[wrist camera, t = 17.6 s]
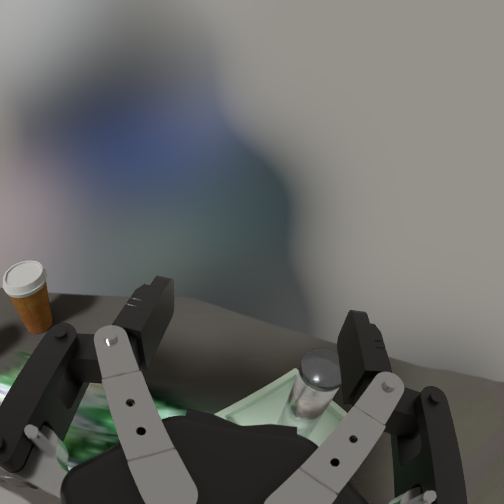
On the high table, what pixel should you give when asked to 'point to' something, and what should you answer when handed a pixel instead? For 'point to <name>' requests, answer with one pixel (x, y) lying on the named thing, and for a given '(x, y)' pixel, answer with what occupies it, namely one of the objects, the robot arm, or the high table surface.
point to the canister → (312, 390)
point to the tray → (279, 409)
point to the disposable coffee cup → (29, 294)
